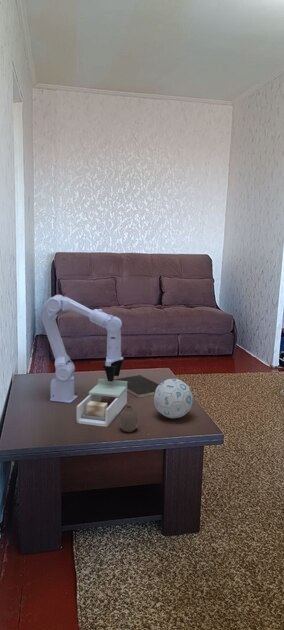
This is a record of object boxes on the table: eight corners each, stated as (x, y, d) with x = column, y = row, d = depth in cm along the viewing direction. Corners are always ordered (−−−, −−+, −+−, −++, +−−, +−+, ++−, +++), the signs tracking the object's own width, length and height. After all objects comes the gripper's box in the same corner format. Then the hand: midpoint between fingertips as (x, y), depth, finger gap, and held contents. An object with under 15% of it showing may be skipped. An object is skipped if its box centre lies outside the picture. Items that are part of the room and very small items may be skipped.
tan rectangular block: (86, 417, 176) (86, 404, 175) (90, 413, 180) (90, 401, 179) (103, 419, 174) (104, 406, 173) (107, 415, 178) (107, 403, 177)
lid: (88, 394, 184) (88, 387, 184) (98, 384, 196) (98, 378, 195) (118, 397, 181) (118, 390, 181) (127, 387, 193) (127, 381, 192)
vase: (131, 435, 163) (131, 411, 162) (115, 430, 167) (115, 407, 165) (141, 428, 169) (142, 405, 168) (125, 424, 173) (126, 401, 171)
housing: (76, 423, 173) (76, 406, 172) (99, 400, 197) (99, 385, 196) (107, 427, 170) (107, 410, 169) (126, 403, 194) (127, 388, 193)
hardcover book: (137, 399, 201) (137, 393, 201) (112, 384, 220) (112, 379, 220) (168, 393, 210) (168, 388, 209) (140, 379, 229) (141, 374, 228)
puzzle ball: (158, 425, 172) (159, 386, 170) (149, 410, 187) (150, 374, 184) (197, 423, 175) (199, 385, 173) (185, 408, 190) (187, 373, 187)
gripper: (117, 351, 184) (117, 384, 186) (128, 343, 197) (127, 374, 200) (100, 350, 185) (100, 382, 188) (112, 342, 199) (112, 372, 202)
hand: (113, 378), depth 194 cm, fingers open, 7 cm apart
